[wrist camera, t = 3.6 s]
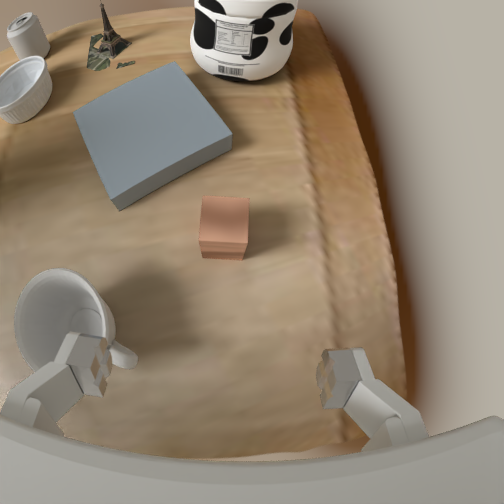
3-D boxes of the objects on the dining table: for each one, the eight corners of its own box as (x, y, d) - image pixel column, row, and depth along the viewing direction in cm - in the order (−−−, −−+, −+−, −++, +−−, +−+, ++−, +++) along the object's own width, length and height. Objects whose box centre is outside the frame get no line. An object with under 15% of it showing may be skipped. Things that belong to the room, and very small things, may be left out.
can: (54, 42, 48) (39, 5, 36) (47, 61, 46) (29, 22, 35) (27, 52, 47) (10, 18, 35) (19, 72, 45) (-1, 37, 34)
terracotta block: (242, 260, 40) (247, 243, 33) (202, 258, 40) (198, 240, 32) (243, 222, 42) (249, 198, 34) (205, 220, 41) (202, 195, 33)
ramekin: (-7, 123, 42) (-24, 104, 35) (31, 74, 45) (19, 53, 39) (28, 136, 42) (10, 114, 35) (70, 81, 45) (58, 57, 39)
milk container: (259, 26, 52) (270, -45, 35) (305, 76, 49) (332, -2, 32) (178, 45, 49) (172, -32, 32) (214, 102, 46) (216, 11, 29)
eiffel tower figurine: (91, 38, 49) (76, -8, 36) (135, 25, 51) (126, -23, 38) (86, 80, 46) (64, 29, 33) (137, 65, 48) (124, 10, 35)
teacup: (137, 399, 35) (112, 419, 25) (43, 348, 34) (2, 350, 25) (169, 313, 38) (152, 307, 28) (72, 268, 38) (35, 250, 28)
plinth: (119, 211, 40) (110, 199, 36) (81, 126, 43) (72, 112, 39) (231, 149, 44) (232, 133, 40) (176, 77, 47) (174, 61, 43)
